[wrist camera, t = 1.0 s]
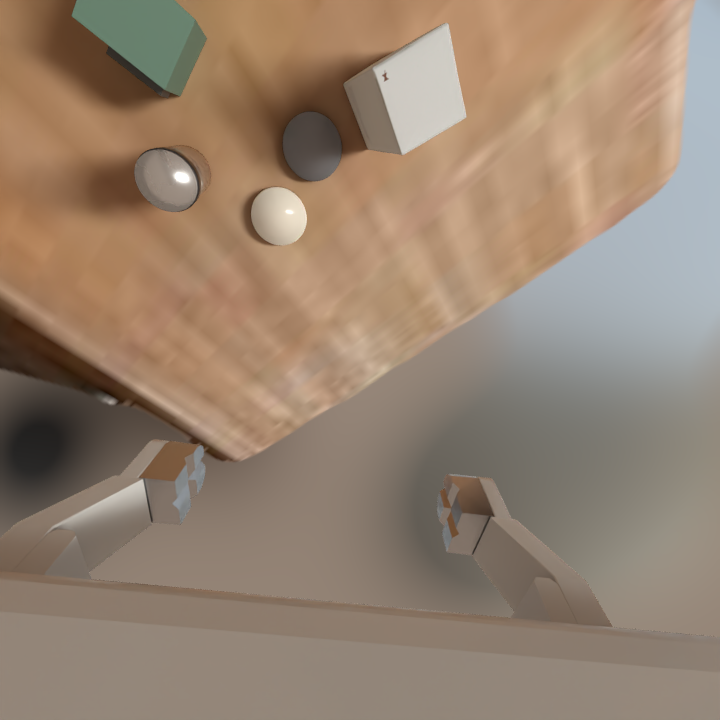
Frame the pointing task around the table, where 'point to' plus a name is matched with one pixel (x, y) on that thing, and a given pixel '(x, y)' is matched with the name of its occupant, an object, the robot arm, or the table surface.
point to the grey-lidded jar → (172, 177)
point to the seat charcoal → (312, 146)
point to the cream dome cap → (278, 215)
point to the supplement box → (408, 94)
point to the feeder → (146, 39)
